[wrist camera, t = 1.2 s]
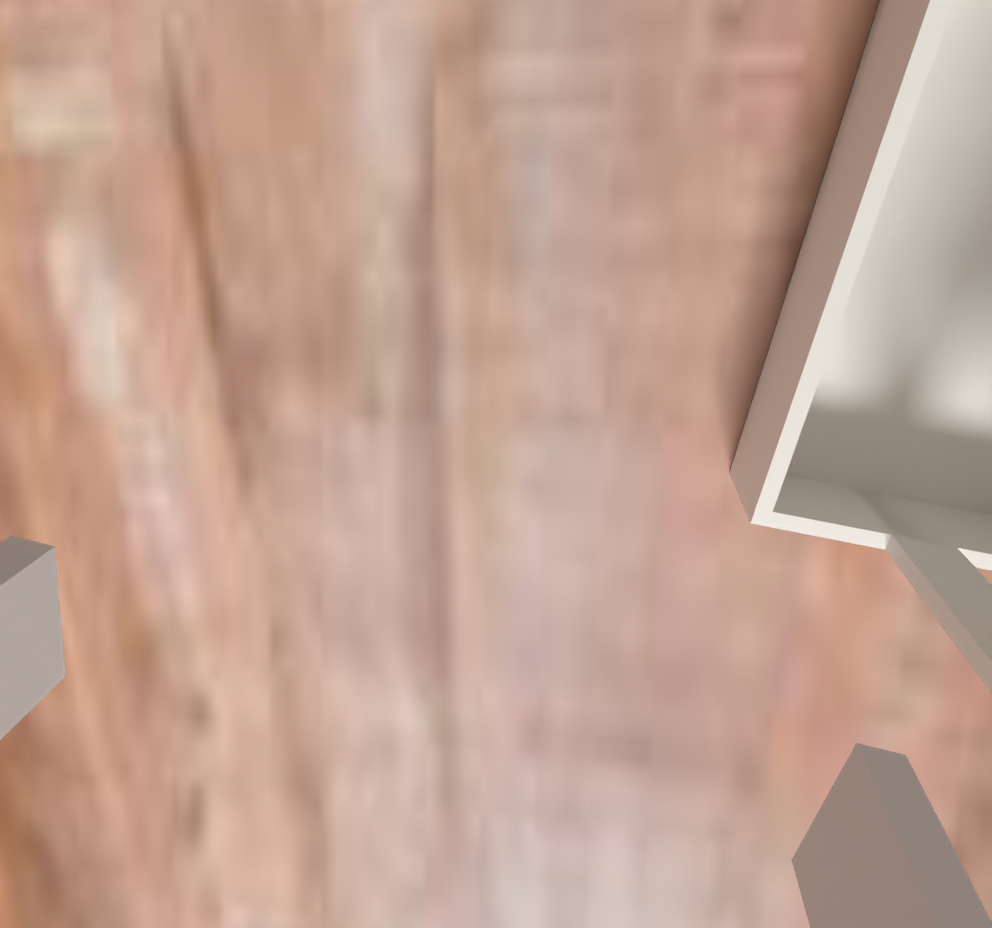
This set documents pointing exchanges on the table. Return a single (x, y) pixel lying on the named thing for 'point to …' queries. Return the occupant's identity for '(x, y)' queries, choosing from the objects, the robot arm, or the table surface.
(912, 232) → the box
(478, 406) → the table surface
